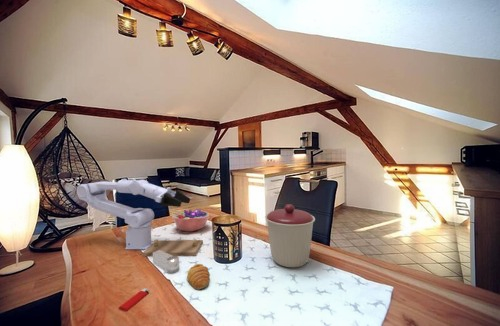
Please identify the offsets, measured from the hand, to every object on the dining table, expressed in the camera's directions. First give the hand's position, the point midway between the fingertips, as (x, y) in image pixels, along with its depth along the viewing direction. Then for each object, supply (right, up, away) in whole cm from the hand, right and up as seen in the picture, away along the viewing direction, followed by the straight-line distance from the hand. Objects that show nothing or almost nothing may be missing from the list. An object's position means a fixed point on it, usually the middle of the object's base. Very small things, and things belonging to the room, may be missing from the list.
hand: (185, 202), depth 88 cm
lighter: (-4, -22, -31) cm, 38 cm away
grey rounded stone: (-3, -20, -13) cm, 25 cm away
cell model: (-4, -19, +24) cm, 31 cm away
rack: (-5, -20, 0) cm, 21 cm away
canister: (+42, -20, -10) cm, 48 cm away
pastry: (+11, -21, -22) cm, 32 cm away
